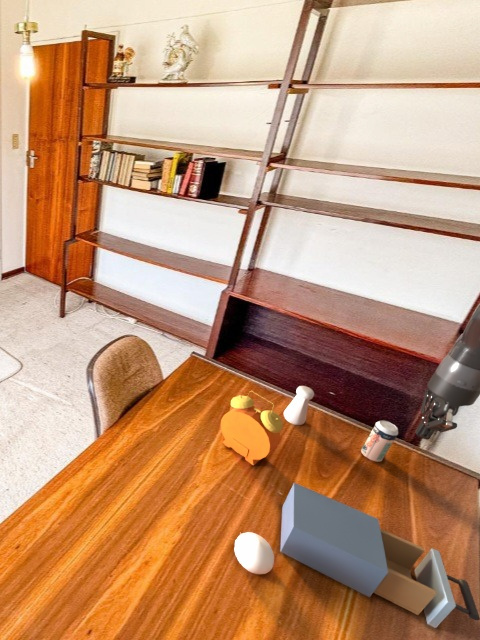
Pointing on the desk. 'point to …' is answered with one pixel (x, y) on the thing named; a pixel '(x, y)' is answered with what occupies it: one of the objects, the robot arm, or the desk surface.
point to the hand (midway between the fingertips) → (421, 436)
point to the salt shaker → (299, 406)
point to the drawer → (421, 582)
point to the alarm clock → (251, 429)
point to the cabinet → (333, 539)
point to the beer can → (379, 440)
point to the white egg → (254, 553)
